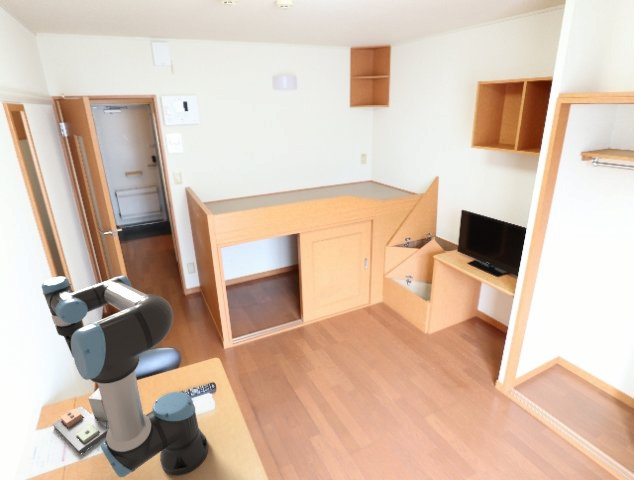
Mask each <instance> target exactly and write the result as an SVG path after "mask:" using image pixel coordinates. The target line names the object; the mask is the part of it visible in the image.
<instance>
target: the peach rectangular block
mask: <svg viewBox="0 0 634 480" xmlns="http://www.w3.org/2000/svg"><path fill="white" fill-rule="evenodd" d="M76 409H77V408H75V407H74V408H73V409H71V410H69V411H68V412H66V413H65V414H63V415H61V416H60V419H61V420H62V422H63V425H64V426H65V427H66V428H67V429H68V428H69V427H71V426H72V425H74V424H75V423H77V422H78V421H80V420H81V419H83V417H82V415H81V413H80V412H79V411H78V410H76Z"/></svg>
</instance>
